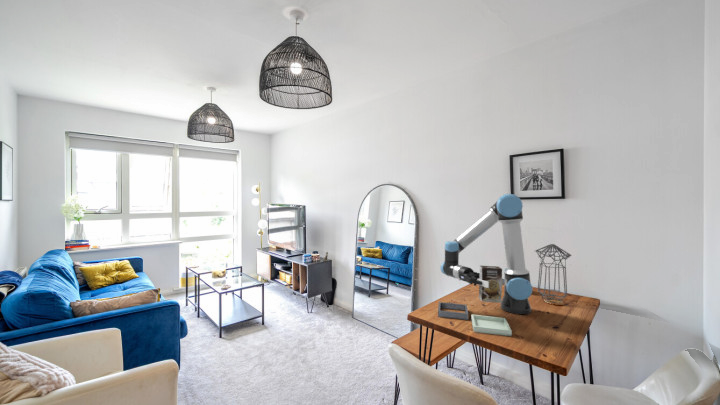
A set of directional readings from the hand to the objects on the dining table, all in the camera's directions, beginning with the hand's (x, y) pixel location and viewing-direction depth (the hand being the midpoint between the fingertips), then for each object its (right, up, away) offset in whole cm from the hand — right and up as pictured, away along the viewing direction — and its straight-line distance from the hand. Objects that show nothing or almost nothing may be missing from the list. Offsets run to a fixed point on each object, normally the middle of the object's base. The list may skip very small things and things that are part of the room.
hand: (497, 283), depth 145 cm
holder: (-14, -22, +22) cm, 34 cm away
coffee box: (-2, -9, +4) cm, 10 cm away
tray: (-2, -22, +4) cm, 22 cm away
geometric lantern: (+54, -23, +46) cm, 74 cm away
